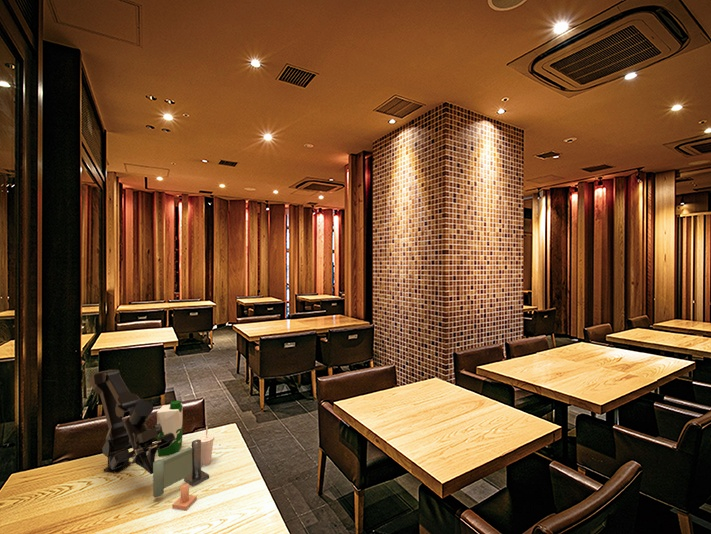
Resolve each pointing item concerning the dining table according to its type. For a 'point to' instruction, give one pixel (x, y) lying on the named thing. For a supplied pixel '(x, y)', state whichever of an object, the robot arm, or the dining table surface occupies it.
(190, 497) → the post
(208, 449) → the smoothie
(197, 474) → the hinge post
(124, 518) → the dining table surface
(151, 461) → the robot arm
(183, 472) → the gate
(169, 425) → the milk carton
